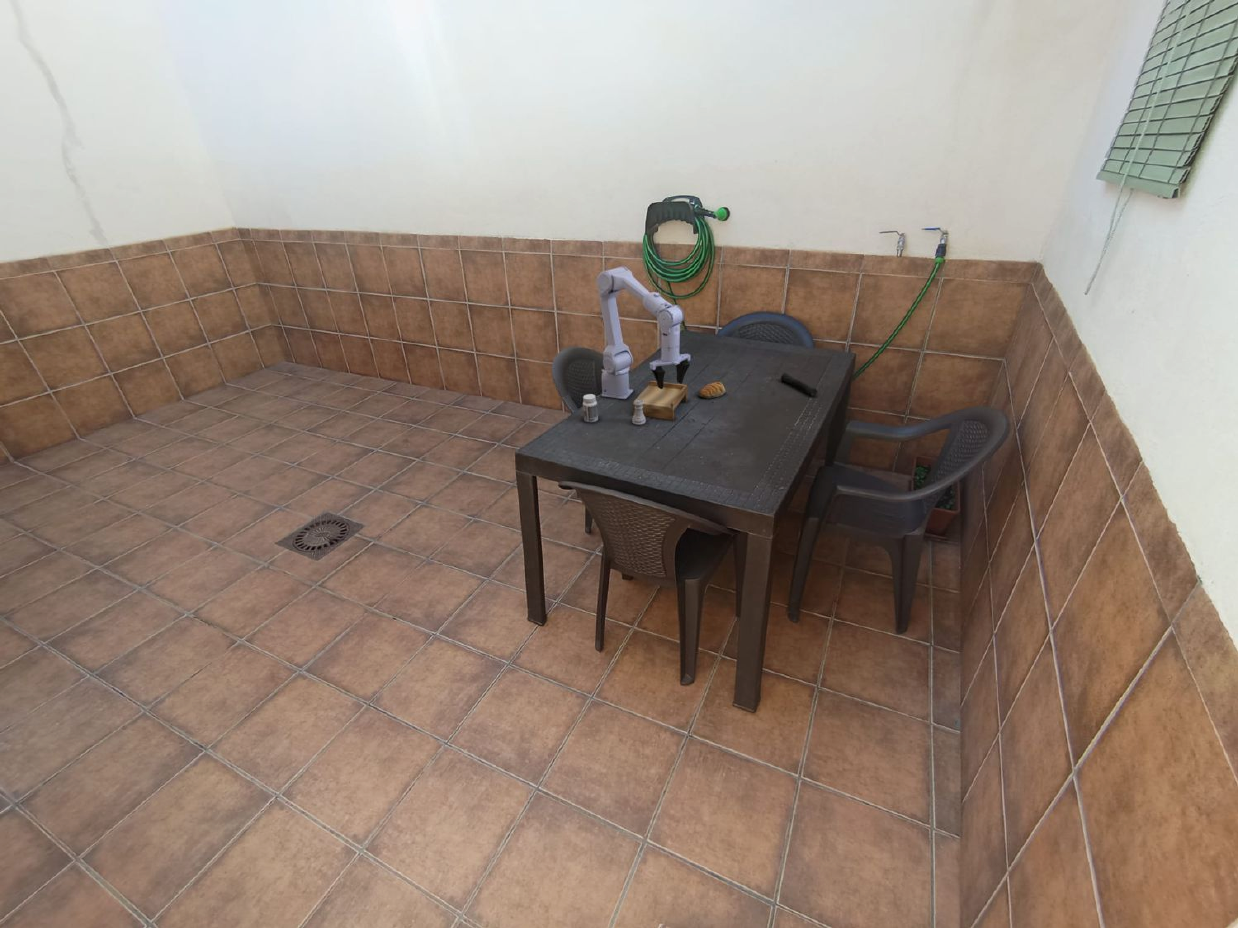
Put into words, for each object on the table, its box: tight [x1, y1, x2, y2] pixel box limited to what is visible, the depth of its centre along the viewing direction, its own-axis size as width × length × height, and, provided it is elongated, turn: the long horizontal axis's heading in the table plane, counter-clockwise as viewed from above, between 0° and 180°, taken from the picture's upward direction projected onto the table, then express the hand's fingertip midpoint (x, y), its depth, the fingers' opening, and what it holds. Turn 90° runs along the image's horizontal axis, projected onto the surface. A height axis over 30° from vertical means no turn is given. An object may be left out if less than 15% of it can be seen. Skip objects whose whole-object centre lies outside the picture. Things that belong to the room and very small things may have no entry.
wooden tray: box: [632, 380, 688, 421], centre depth 191 cm, size 14×16×6 cm
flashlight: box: [780, 372, 818, 397], centre depth 201 cm, size 3×16×3 cm, turn 23°
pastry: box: [699, 381, 726, 399], centre depth 199 cm, size 9×7×4 cm
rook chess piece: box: [632, 398, 647, 426], centre depth 182 cm, size 4×4×8 cm
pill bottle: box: [582, 393, 599, 423], centre depth 185 cm, size 5×5×8 cm
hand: (670, 385), depth 184 cm, fingers open, 7 cm apart
